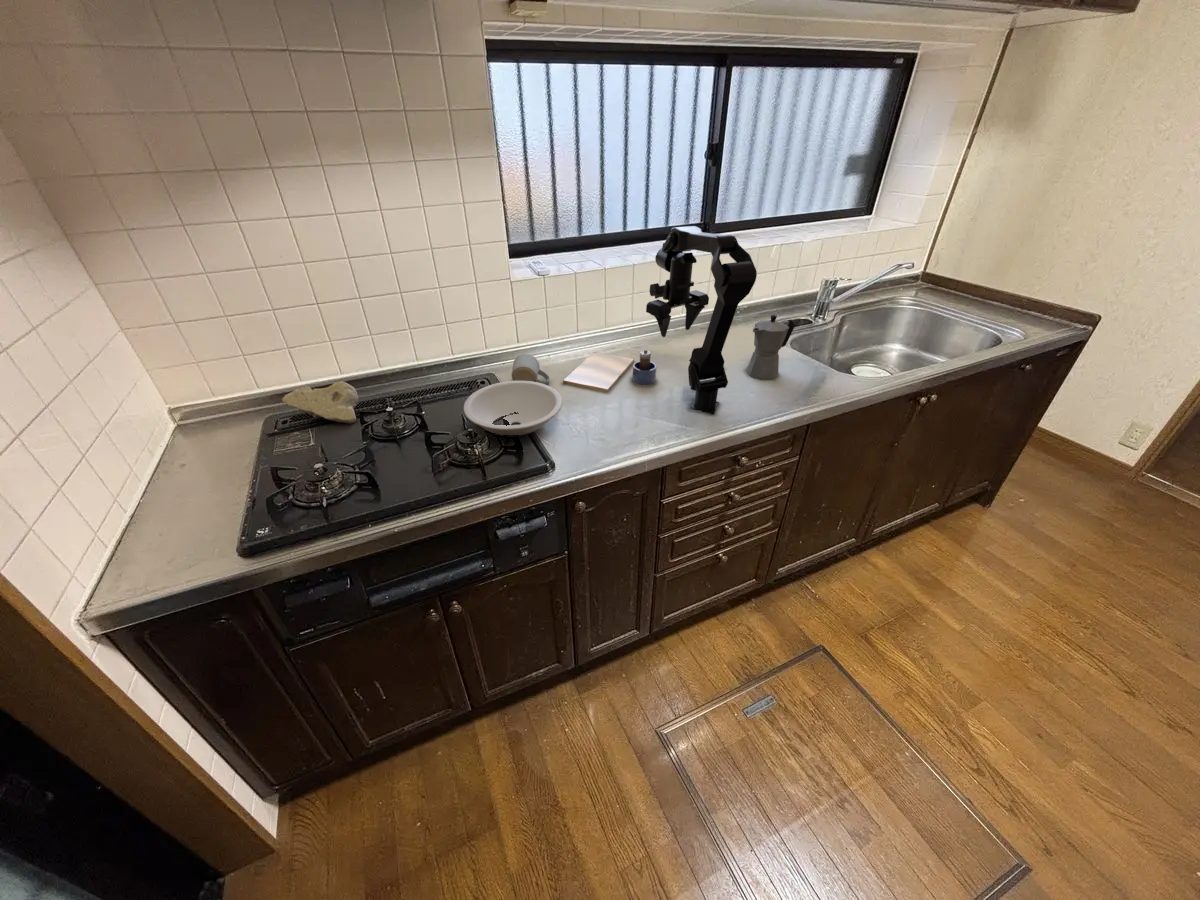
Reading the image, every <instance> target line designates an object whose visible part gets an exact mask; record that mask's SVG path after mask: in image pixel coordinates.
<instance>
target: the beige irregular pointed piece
mask: <svg viewBox="0 0 1200 900" xmlns="http://www.w3.org/2000/svg"><path fill="white" fill-rule="evenodd" d="M308 385H309V383H306V384H304V385H302V386H300V387H299V388H293V390H292V391H291V392H289V393H287V394H285V395H284V396H283V397H281V401H282V402H283V403H284V404H285V405H288V406H289V407H293V408H295V409H298V410H300V411H303V412H305V413H308V415H310V416H312V417H313V419H319V418H323V419H325V420H328V421H333V422H336V423H345V424H354V423H356V422H357V416H356V413H355V408H356V407H357V406H358V403H359V395H358V392H357V389H356V388H355V387H354V386H352V385H351V384H349V383H347V382H345V381H342V380H341V381H336V382H333V383H332V384H330V385H329V386H327V387H323V388H313V389H312V388H311V387H310V386H308Z"/></svg>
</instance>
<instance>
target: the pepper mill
mask: <svg viewBox="0 0 1200 900" xmlns="http://www.w3.org/2000/svg"><path fill="white" fill-rule="evenodd" d="M651 357H652V352H651V351H650V350H648V349H644V350H640V351H639V361H640V366H639V369H640V370H650V362H651Z"/></svg>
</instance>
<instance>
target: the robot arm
mask: <svg viewBox="0 0 1200 900" xmlns="http://www.w3.org/2000/svg"><path fill="white" fill-rule="evenodd" d="M692 251H699V252H703V253H704V252H705V253H709V254H710V253H711V256H712V260H711V265H710V271H711V275H712V276H713V279H714V283H713V287H714V290H715V294H716V296H717V298H716V301H715V304H714V307H713V310H712V313H711V318H710V321H709V323H708V327H707V330H706V334H705V337H704V340H703V343H702V346H701V347H695V348H693V350H692V351H691V356H690V358H689V360H688V361H689V364H688V368H687V371H688V373H687V375H688V383H689V384H688V385H689V386H690V390H691V391H695V394H694V399H693V402H692V404H691V405H690V410H693V411H699V412H701V413H705V414H709V415H715V414H716V411H717V409H718V407H719V405H720V402H719V401H718V395H719V394H718V393H719V389H726V388H727V386H728V384H729V380H728V376H727V374H726V370H725V359H724V356H723V354H722V353H723V349H724V346H725V343H726V340H727V337H728V334H729V332H730V329H731V327H732V323H733V320H734V317H735V315H736V312H737V310H738V306H739V304H740V303H741V302H742V301H743V300H744V299H745V298H746V297H747V296H748V295H750V293H751V291H752V288H754V285H755V283H756V280H757V276H758V272H757V269H756V266H755V264H754V261H753V259H752V257H751V255H750V253H749V252H747V251H746V250H745V249H744V248H743V247H742V246H741V245H740V244H739V242H738V240H737V237H736V236H735V235H732V234H719V233H712V232H703V231H702V228H700V227H698V226H696V225H689V226H687V225H686V226H678V227H677V226H675V227H672V228H671V229H670V232H669V233H668V235H667V237H666V239H665V241H664V242H662V247H661V248H660V249H659V250H657V252H656V255H655V256H654V259H655V263H656V265H657V266H658V267H659V268H661V269H662V270H664V271H666V272H668V273H669V279H666V280H665V282H664V284H662V285H660V284H659V282H657V283H652V284H649V296H650V297H654V299H655V300H651V301H648V302H647V303H646V306H645V313H647V314H650V316H653V317H654V318H655V320H656V322H657V325H658V328H659V332H660V335H661V337H662V338H665V337H666V336H667V333H668V330H669V326H670V323H671V320H672V319H671V318H672V315H670V314H671V313H672V309H675V308H679V307H683V306H684V308H685V323H684V325H685V326H684V327H685V330H686V331H689V330H690V329H691V327H692V326H693V324H694V322H695V321H696V319H697V318H698V317H699V315H700V313H701V312H702V310H703V309H705V308H706V306H708V305H709V301H710V297H709V296H708V293H705V292H703V291H699V290H696V289H694V290H691V287H694V286H695V282H694V281H692V275H693V274H692V273H693V265H694V264H696V263H697V258H696V257H695V256H694V254H693V252H692ZM721 255H729V257H730V258H731V259H732V260H734V262H727V263H722V261H721ZM659 298H662V300H660V299H659ZM663 300H665V301H663Z"/></svg>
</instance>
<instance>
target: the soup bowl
mask: <svg viewBox="0 0 1200 900" xmlns="http://www.w3.org/2000/svg"><path fill="white" fill-rule="evenodd" d="M562 406H563V399H562V396H561V394H560V393H559V391H557V390H556V389H555V388H553V387H552V386H549V385H548V384H547V385H545V384H542V383H538V382H532V381H513V380H508V381H500V382H496V383H493V384H489V385H486V386H484V387H482V388H479V389H477V390H476V391H474V392H473V393H471V394H470V395H469V396H468V397H467V399H466V400H465V401H464V404H463V413H464V416H465V417H466V418H467V419H468V420H469V421H470V422H471V423H473V424H475V425H477V426H479V427H481V428H482V429H484V430H485V431H487V432H490V433H492V434H494V433H495V434H494V435H498V434H499V436H503V435H519V436H524V435H528V434H532V433H533V432H536V431H537V430H539V429H540V428H542V427H544V426H545V425H546V424H548V422H549V421H550V420H551V419H552V418H554V417H555V416H557V414H558V413H559V412H560V411H561V408H562ZM514 412H516V413H517V412H518V413H519V414H513V415H509V414H510V413H514ZM505 415H509V416H506V417H504V418H503V419H505V420H507V421H508V422H509V424H510V425H507V426H506V425H494V424H492V423H493V421H494V420H495V419H497V418H499V417H501V416H505ZM515 423H517V424H515ZM518 423H519V424H518ZM512 424H513V425H512Z"/></svg>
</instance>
